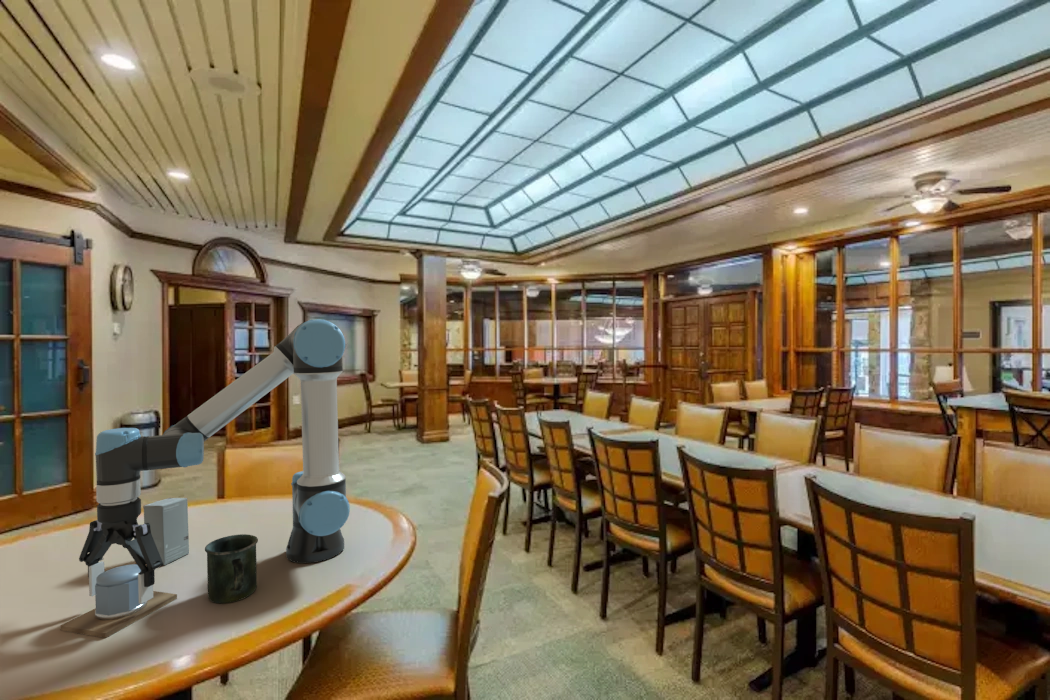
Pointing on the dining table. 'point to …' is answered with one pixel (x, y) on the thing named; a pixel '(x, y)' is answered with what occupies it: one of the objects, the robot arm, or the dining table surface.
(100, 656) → the dining table surface
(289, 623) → the dining table surface
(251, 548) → the mug
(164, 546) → the skincare box
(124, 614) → the stud
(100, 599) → the cap
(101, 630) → the base board
